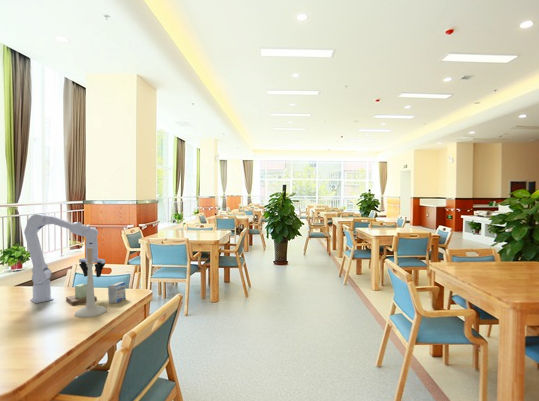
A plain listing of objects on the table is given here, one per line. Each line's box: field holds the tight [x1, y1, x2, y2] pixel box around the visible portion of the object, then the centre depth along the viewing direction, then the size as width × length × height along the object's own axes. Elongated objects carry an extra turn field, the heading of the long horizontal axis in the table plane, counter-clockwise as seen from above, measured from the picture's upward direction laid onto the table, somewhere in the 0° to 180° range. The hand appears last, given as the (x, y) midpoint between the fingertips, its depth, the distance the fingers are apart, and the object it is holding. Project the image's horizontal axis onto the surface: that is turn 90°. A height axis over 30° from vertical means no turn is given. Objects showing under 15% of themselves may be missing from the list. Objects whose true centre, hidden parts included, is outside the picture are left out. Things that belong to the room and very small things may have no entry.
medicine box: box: [107, 281, 126, 304], centre depth 178 cm, size 8×4×9 cm, turn 168°
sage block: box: [74, 283, 87, 298], centre depth 179 cm, size 4×4×6 cm
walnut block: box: [65, 295, 98, 306], centre depth 179 cm, size 11×11×2 cm
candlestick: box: [74, 247, 107, 319], centre depth 160 cm, size 13×13×30 cm
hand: (92, 276), depth 186 cm, fingers open, 7 cm apart
